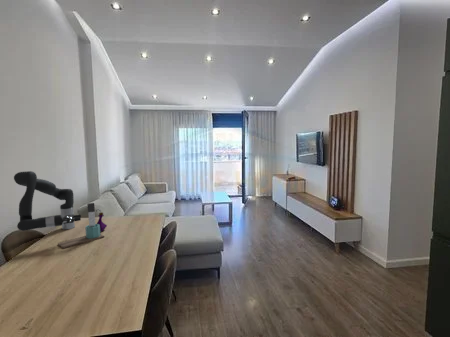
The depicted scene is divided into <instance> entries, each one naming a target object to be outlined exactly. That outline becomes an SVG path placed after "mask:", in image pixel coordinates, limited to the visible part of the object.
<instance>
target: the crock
mask: <svg viewBox="0 0 450 337" xmlns="http://www.w3.org/2000/svg"><path fill="white" fill-rule="evenodd" d="M95 225H96V227H90V228H89V224H88V225H86V226H84V228H85V236H86V238H88V239H92V238H97V237H99V236H100V234H101V232H100V225H99V224H97V223H95Z"/></svg>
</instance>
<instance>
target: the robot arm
mask: <svg viewBox="0 0 450 337" xmlns="http://www.w3.org/2000/svg"><path fill="white" fill-rule="evenodd" d="M13 180H14V182H15V183H16V184H17V185H19V186H22V187H26V188H25V192H24V193H23V196H22V197H21V199H20V201H19V205H18V216H19V222H17V226H16V227H17V230H19V231H21V232H22V231H30V230H34V229H43V228H50V227H51V228H53V227H60V226H61V229H62V230H70V229H71V230H72V229H74V228H75V226H76V224H75V222H79V221H81V220H82V219H81V217H82V215H81V214H75V212H74V203H75V202H74V199H75V198H74V191H73V189H71V188H58V187H57V186H56V184H54V183H53V182H51V181H49V180H46V179H43V178H42V179H40V178H38V177H37V174H36V172H35V171H31V170H30V171H19V172H17V173H15V174H14V176H13ZM35 191H37V192H41V193H43V194H46V195H49V196H52V197H54V198H56V199H57V200H59V201H65V203H62V204H60V205H59V209H60V214H56V215H49V216H44V217H38V218H33V215H32V213H33V201H34V200H33V199H34V195H35V194H34V193H35Z"/></svg>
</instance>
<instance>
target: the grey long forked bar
mask: <svg viewBox="0 0 450 337" xmlns="http://www.w3.org/2000/svg"><path fill="white" fill-rule="evenodd" d="M95 211H96V210H95V202H92V203H91V202H89V203H87V212H88V215H87V216H88V225H89V228H90V227H96V225H95V224H96V215H95V214H96V212H95Z"/></svg>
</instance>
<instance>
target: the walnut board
mask: <svg viewBox="0 0 450 337" xmlns="http://www.w3.org/2000/svg"><path fill="white" fill-rule="evenodd" d="M103 238H105V235H103V234H101V233H100V236H99V237H97V238H92V239H88V238H86V235H84V236H80V237H77V238H72V239H68V240H65V241H61V242H57V245H58V246H59V247H61V249H64V250H65V249H68V248H71V247H76V246H78V245H81V244H82V245H83V244H86V243H90V242H93V241H96V240H100V239H103Z"/></svg>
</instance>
